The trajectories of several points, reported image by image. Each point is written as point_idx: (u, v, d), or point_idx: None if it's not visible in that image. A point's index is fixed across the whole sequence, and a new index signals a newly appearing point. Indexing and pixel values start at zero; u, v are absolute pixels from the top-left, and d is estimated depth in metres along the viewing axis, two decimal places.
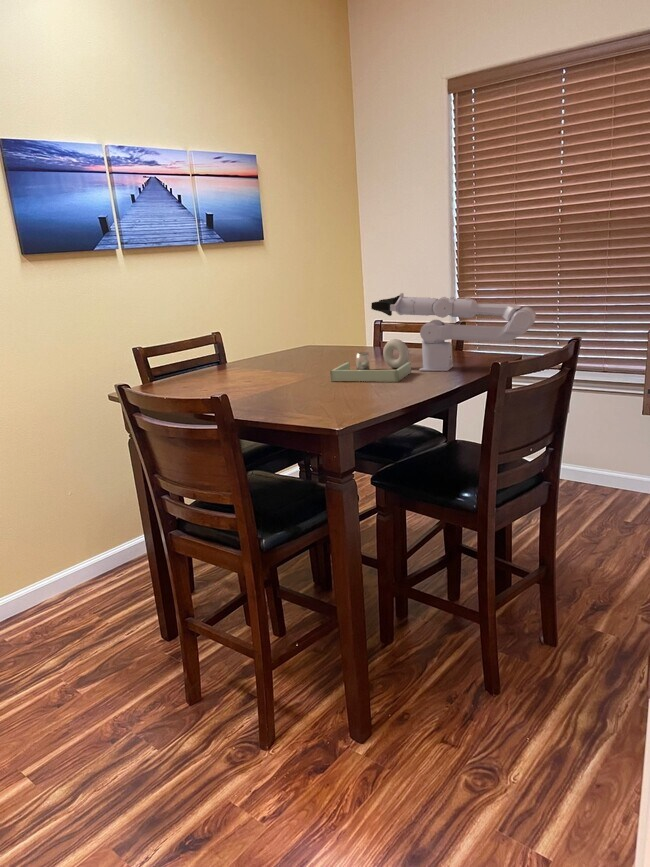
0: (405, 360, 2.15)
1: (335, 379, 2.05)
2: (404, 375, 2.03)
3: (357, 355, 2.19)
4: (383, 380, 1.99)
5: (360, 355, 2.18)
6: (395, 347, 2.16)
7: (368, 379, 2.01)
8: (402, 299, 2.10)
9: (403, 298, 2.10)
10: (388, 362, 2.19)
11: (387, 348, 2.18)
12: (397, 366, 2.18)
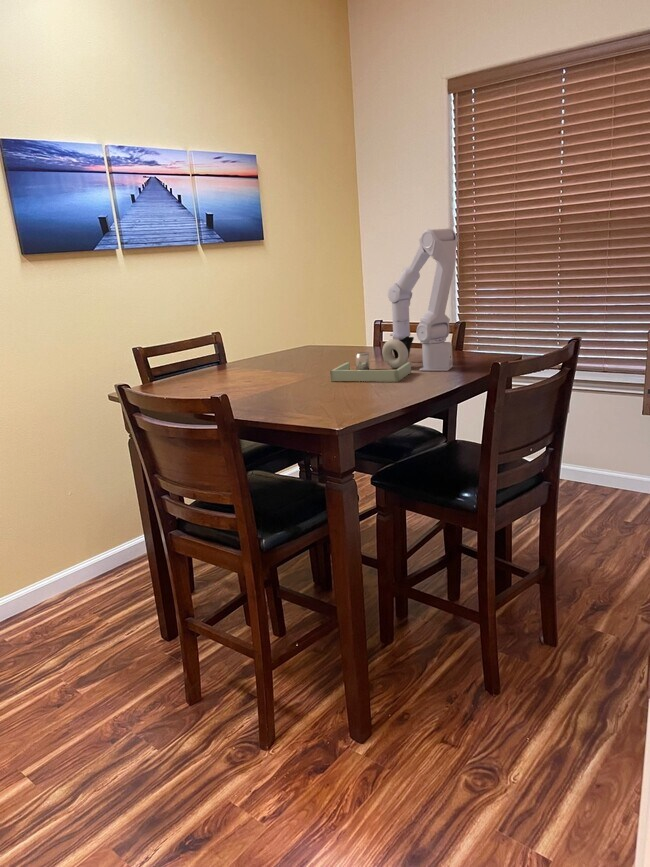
0: (405, 360, 2.15)
1: (335, 379, 2.05)
2: (404, 375, 2.03)
3: (357, 355, 2.19)
4: (383, 380, 1.99)
5: (360, 355, 2.18)
6: (394, 347, 2.15)
7: (368, 379, 2.01)
8: (393, 332, 2.23)
9: (393, 332, 2.23)
10: (388, 362, 2.19)
11: (386, 349, 2.18)
12: (397, 366, 2.18)
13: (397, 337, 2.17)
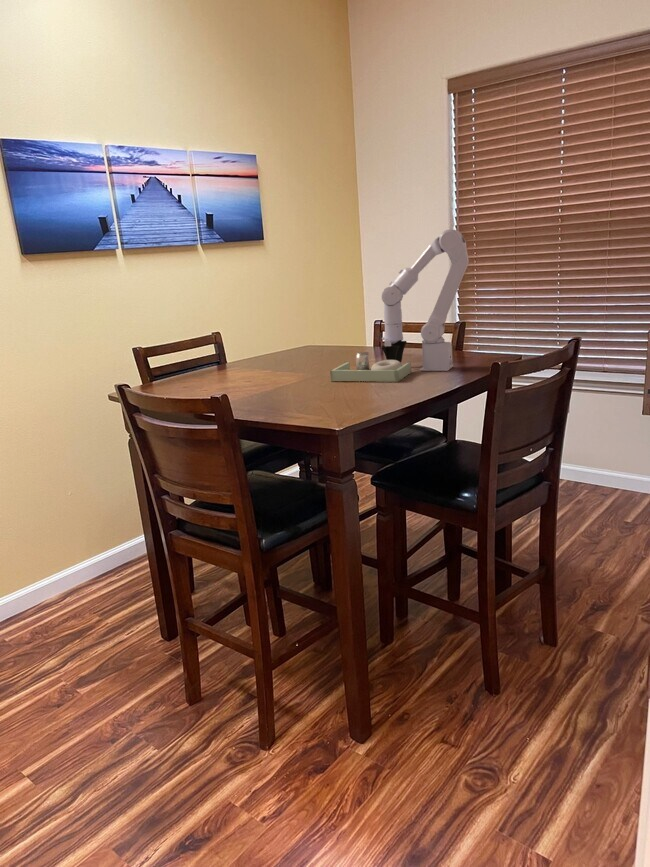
0: None
1: (335, 379, 2.05)
2: (404, 375, 2.03)
3: (357, 355, 2.19)
4: (383, 380, 1.99)
5: (360, 355, 2.18)
6: None
7: (368, 379, 2.01)
8: (385, 336, 2.14)
9: (385, 335, 2.15)
10: None
11: None
12: None
13: (389, 341, 2.09)
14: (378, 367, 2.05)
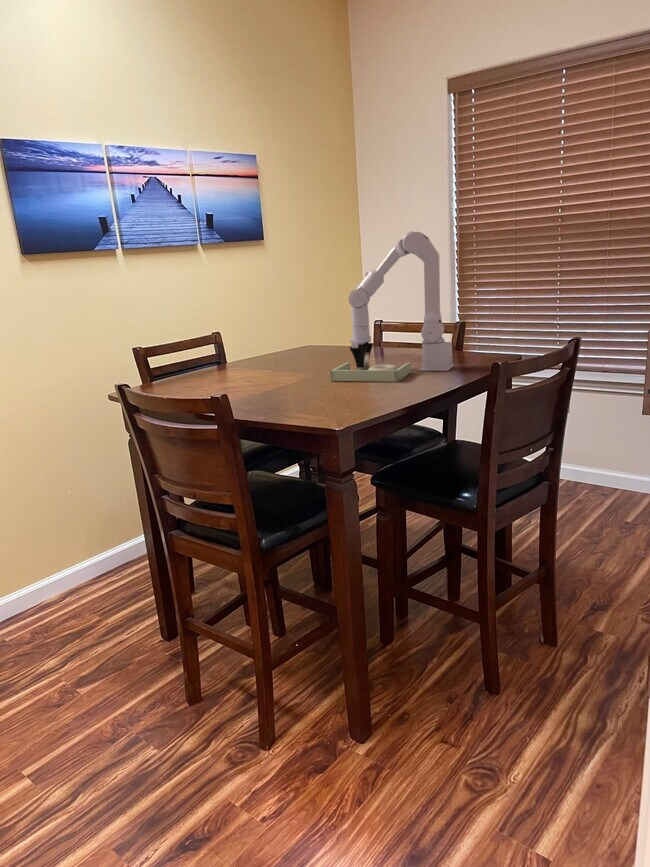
0: None
1: (335, 379, 2.05)
2: (404, 375, 2.03)
3: None
4: (383, 380, 1.99)
5: None
6: None
7: (368, 379, 2.01)
8: (353, 338, 2.18)
9: None
10: None
11: None
12: None
13: (356, 343, 2.12)
14: (375, 369, 2.02)
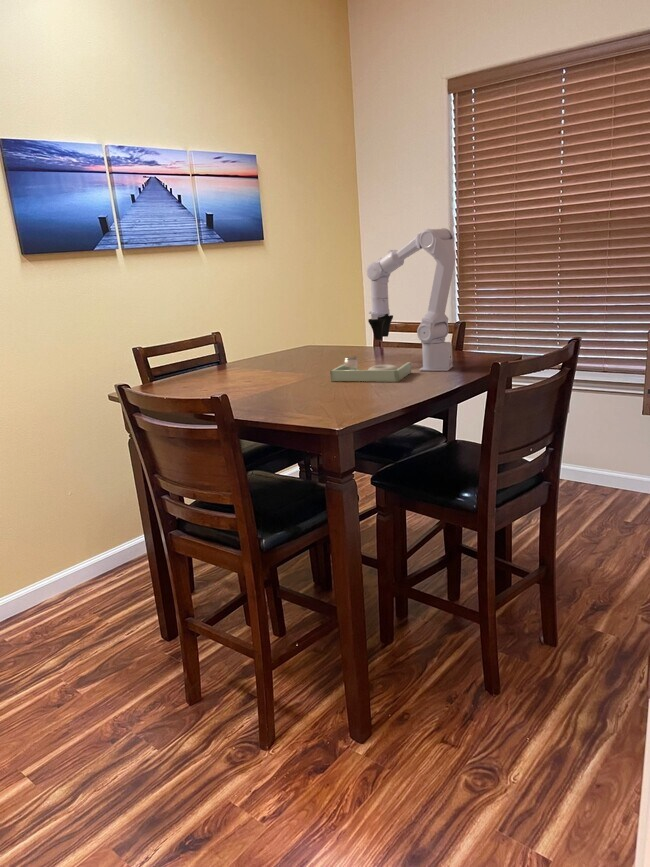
0: None
1: (335, 379, 2.05)
2: (404, 375, 2.03)
3: (345, 360, 2.09)
4: (383, 380, 1.99)
5: (349, 360, 2.08)
6: None
7: (368, 379, 2.01)
8: (372, 310, 2.23)
9: (372, 309, 2.23)
10: None
11: None
12: None
13: (375, 314, 2.17)
14: (375, 369, 2.02)
